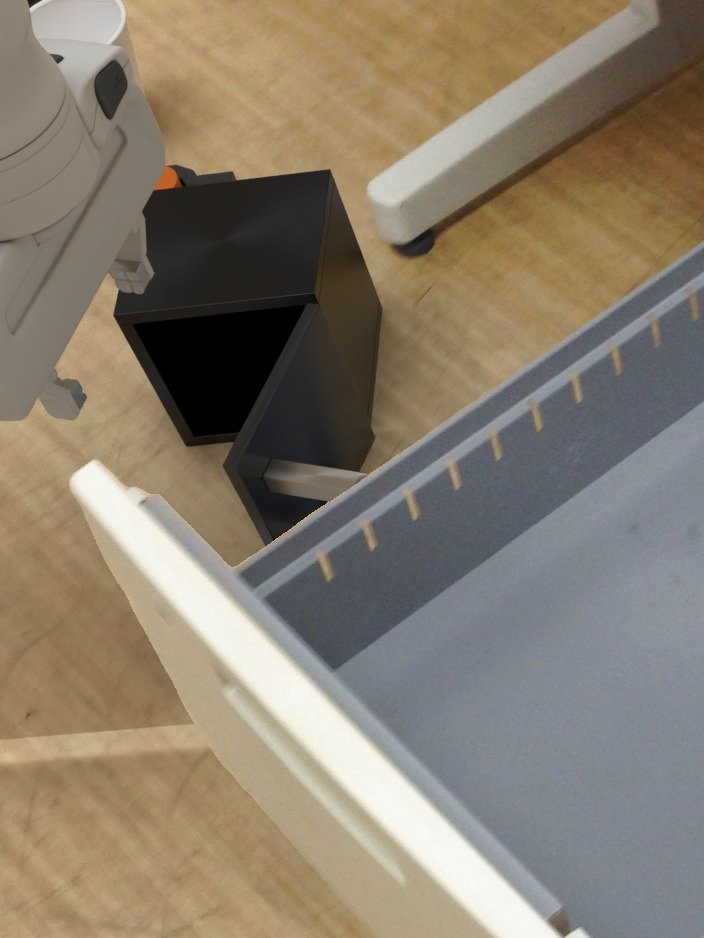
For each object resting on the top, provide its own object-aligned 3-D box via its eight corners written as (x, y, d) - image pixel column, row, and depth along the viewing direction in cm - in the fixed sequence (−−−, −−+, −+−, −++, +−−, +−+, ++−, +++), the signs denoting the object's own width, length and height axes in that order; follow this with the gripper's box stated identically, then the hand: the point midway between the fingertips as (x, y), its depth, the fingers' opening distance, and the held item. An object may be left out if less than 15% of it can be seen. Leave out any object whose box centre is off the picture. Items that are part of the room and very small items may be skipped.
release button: (132, 219, 142) (124, 203, 140) (140, 184, 144) (131, 168, 143) (181, 214, 141) (173, 197, 140) (188, 179, 144) (180, 162, 142)
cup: (40, 163, 153) (-17, 58, 144) (101, 86, 157) (49, -20, 148) (136, 183, 150) (83, 76, 141) (195, 104, 154) (148, -4, 145)
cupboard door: (475, 451, 128) (428, 318, 117) (405, 611, 121) (348, 486, 110) (363, 434, 130) (307, 302, 119) (288, 590, 123) (221, 465, 112)
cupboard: (371, 428, 131) (314, 293, 119) (186, 447, 132) (112, 315, 121) (383, 308, 137) (330, 168, 126) (206, 327, 139) (138, 191, 127)
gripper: (-35, 315, 83) (78, 498, 95) (138, 27, 94) (222, 223, 105) (-152, 301, 85) (-26, 483, 96) (31, 19, 95) (125, 214, 107)
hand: (104, 345), depth 101 cm, fingers open, 8 cm apart
